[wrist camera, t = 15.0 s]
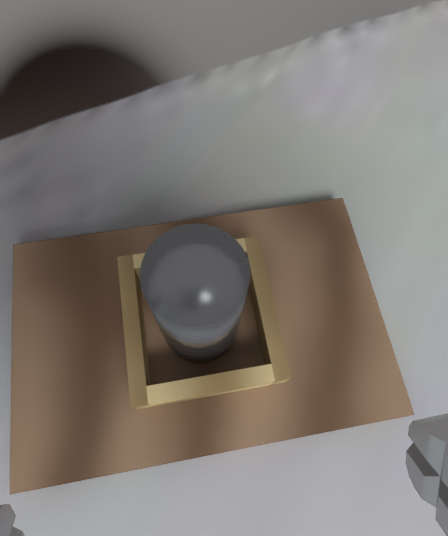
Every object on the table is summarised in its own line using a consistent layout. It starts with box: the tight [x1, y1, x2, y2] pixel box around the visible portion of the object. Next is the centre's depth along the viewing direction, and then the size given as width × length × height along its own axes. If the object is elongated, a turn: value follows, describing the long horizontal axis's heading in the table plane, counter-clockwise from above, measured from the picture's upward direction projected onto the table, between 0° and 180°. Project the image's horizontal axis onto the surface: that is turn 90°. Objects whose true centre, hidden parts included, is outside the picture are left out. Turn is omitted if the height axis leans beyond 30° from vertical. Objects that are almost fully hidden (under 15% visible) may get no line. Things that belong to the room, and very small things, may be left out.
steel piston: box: [140, 224, 250, 363], centre depth 18 cm, size 4×4×8 cm
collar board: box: [10, 198, 414, 494], centre depth 22 cm, size 20×13×3 cm, turn 100°
